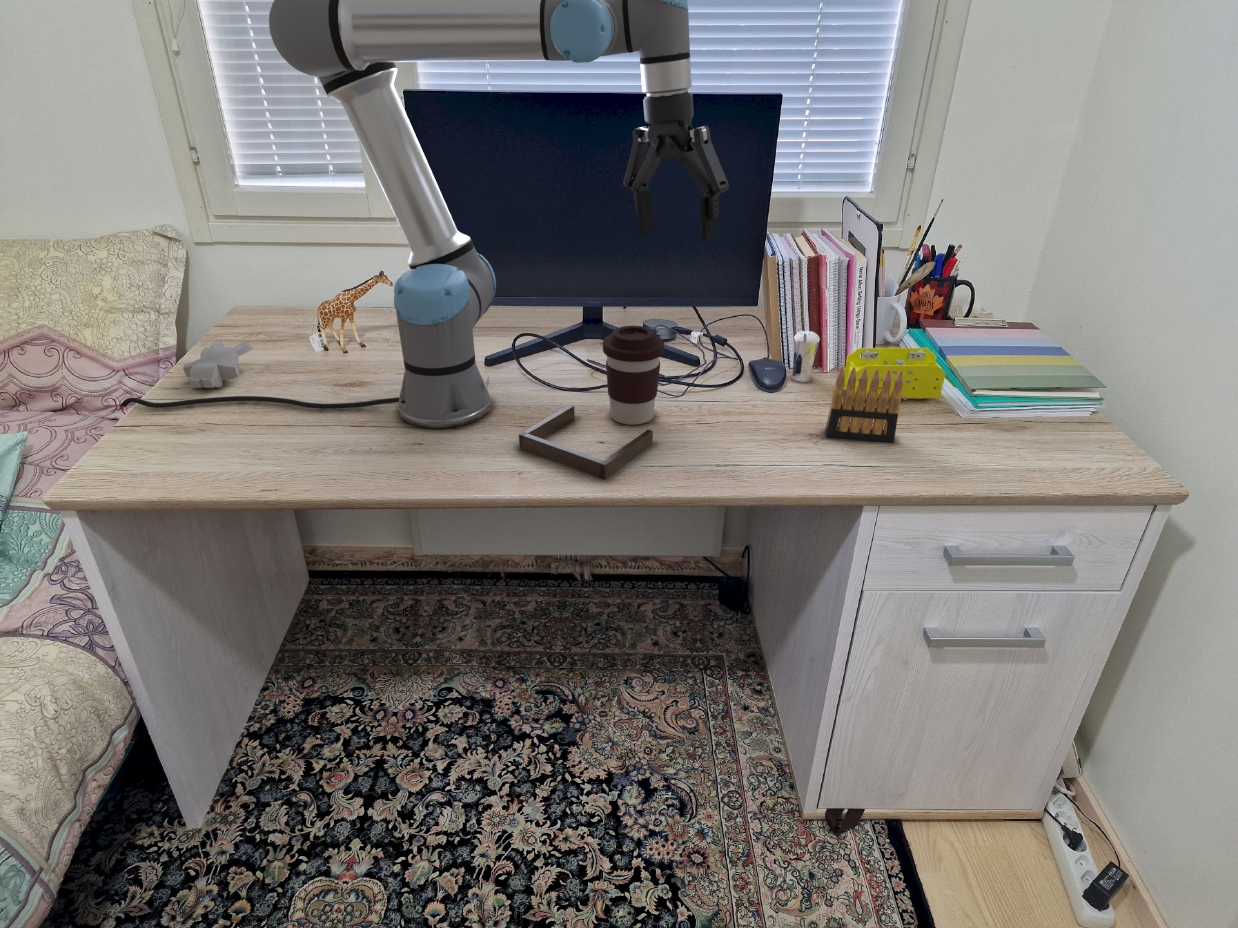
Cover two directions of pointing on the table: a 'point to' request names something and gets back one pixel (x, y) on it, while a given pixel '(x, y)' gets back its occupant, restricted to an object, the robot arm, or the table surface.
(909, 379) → the yellow toy chassis
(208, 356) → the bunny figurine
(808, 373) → the milkshake
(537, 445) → the bay
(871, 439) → the ammunition clip
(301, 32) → the robot arm
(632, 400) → the coffee cup
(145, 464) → the table surface
